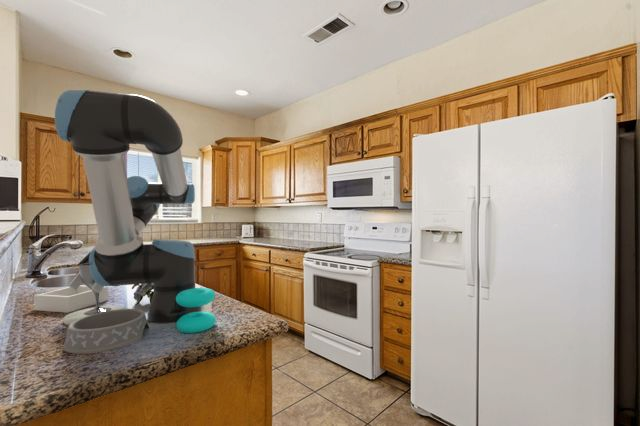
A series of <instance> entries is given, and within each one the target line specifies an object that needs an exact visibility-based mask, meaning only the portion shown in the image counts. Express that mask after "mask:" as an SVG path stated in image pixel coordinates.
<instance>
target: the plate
mask: <svg viewBox="0 0 640 426" xmlns="http://www.w3.org/2000/svg"><path fill="white" fill-rule="evenodd" d="M99 306H100V305H99ZM95 307H96V306H95ZM95 307H88V308H82V309H78V310H75V311H72V312H69V313H68V314H66V315H65V316H64V317H63V318H62V319H63V321H62V322H63V324H64V325H66V326H69V325H70V324H71V323H72V322H74V321H76V320H78V319H80V318H83V317H86V316H89V315H85V314H84V313H85V312H86V311H89V310H92V309H94V308H95ZM100 307H111V308H112V309H111V310H118V309H125V308H124V307H123V306H120V305H104V306H100ZM111 310H109V311H111ZM91 315H92V314H91Z"/></svg>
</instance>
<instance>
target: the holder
mask: <svg viewBox="0 0 640 426" xmlns="http://www.w3.org/2000/svg"><path fill="white" fill-rule="evenodd" d="M33 297H34V302H33V303H34V311H42V312H53V313H55V312H56V313H68V314H70V313H73V312H76V311H79V310H83V309H86V308H87V307H88V308H89V307H92V306H96V300H95V295H94V293H93V291H92V290H91V289H90V288H89V287H87V286H86V285H82V284H81V285H80V286H79V287H78V289H77V290H73V289H72V288H70V287H69V286H68V287H65V288H64V287H63V288H59V289H56V290H51V291H46V292H42V293H38V294H34V295H33ZM107 301H109V286H104V287H103V289H102V290H101V292H100V293H99V304H101V303H103V302H107Z"/></svg>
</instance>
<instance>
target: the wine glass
mask: <svg viewBox="0 0 640 426" xmlns="http://www.w3.org/2000/svg"><path fill="white" fill-rule="evenodd" d="M89 265H90V263H84V264H80V265H78V271H79V273H80V277H81V280H82V284H84V286H87V287H89V288H90V289H91V290H92V291H93V293H94V295H95V300H96V304H95V308H94V309H92V310H89V311H86V312H85V313H84V314H85V315H91V314H96V313H100V312H105V311H109V310H111V309H112V308H111V307H100V303H99V293H97V292H96V291H95V290H93V289H92V287H93V285H94V284H95V283H96V282H95V281H94V280H93V278H92V276H91V273H90V269H89Z"/></svg>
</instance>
